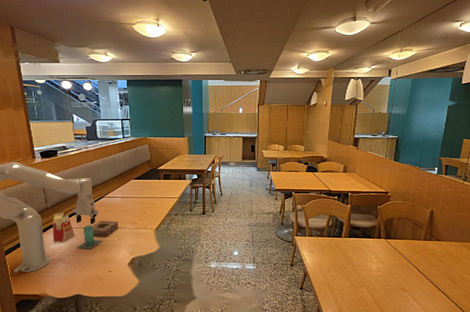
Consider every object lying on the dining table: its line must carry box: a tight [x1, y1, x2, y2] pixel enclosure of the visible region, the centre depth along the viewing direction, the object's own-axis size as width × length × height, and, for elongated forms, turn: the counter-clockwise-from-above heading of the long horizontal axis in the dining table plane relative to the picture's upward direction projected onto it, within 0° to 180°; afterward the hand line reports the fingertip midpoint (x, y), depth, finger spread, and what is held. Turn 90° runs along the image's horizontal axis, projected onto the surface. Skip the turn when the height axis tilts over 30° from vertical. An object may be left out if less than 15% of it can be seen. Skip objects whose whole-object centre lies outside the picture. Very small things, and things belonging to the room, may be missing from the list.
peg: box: [83, 224, 95, 246], centre depth 146 cm, size 5×5×12 cm
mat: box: [76, 239, 103, 250], centre depth 147 cm, size 10×10×1 cm
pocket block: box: [92, 220, 119, 238], centre depth 164 cm, size 14×14×5 cm
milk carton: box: [52, 212, 76, 244], centre depth 152 cm, size 9×9×20 cm
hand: (85, 222), depth 144 cm, fingers open, 9 cm apart
